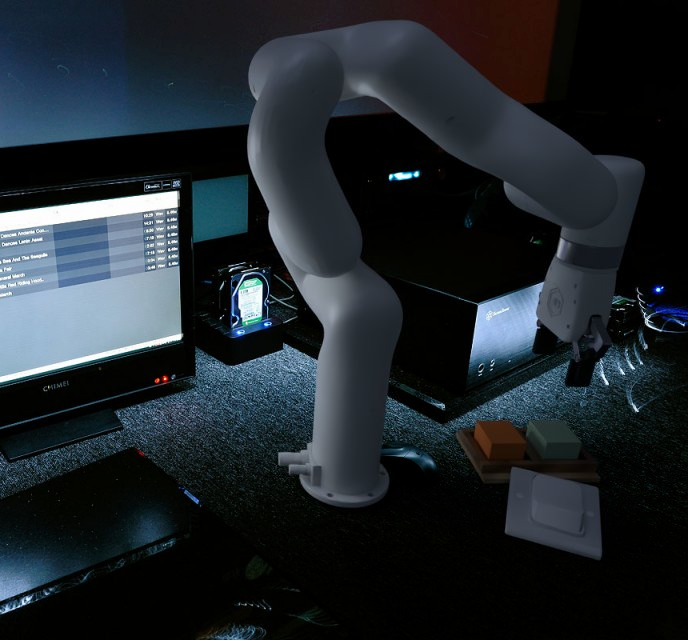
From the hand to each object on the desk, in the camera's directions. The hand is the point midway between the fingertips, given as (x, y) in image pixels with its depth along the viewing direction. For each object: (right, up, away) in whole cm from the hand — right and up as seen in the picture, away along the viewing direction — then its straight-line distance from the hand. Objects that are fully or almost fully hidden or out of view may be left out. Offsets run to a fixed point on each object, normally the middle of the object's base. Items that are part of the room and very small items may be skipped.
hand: (558, 369), depth 94 cm
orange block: (-6, -13, +6) cm, 16 cm away
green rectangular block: (+2, -13, +6) cm, 14 cm away
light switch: (-4, -19, -6) cm, 20 cm away
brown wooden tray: (-2, -14, +6) cm, 15 cm away
